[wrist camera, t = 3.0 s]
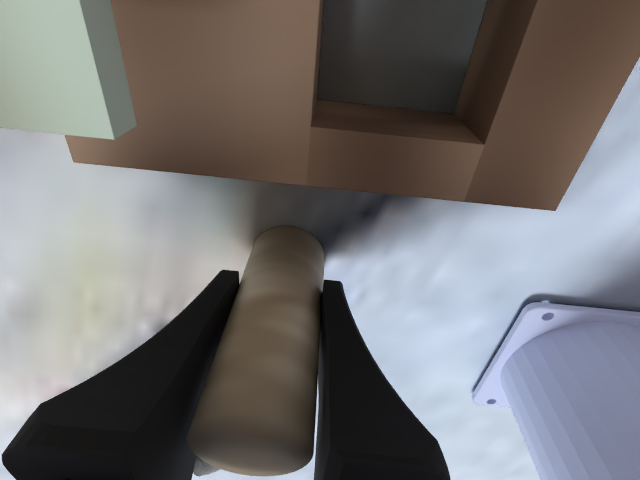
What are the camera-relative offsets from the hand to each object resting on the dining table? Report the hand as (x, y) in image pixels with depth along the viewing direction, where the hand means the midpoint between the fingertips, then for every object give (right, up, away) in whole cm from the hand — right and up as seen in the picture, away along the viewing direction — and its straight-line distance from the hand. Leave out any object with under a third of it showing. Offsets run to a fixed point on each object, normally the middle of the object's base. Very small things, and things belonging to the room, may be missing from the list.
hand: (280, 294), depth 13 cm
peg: (0, +1, +2) cm, 2 cm away
